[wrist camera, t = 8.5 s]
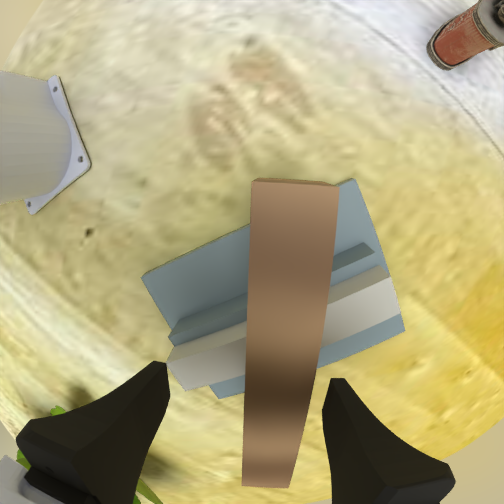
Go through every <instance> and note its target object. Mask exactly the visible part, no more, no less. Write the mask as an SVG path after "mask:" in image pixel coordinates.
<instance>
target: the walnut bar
mask: <svg viewBox="0 0 504 504" xmlns="http://www.w3.org/2000/svg"><path fill="white" fill-rule="evenodd" d="M339 189H340V187H337V186H334V185H331V184H328V183H325V182H320V181H306V180H291V179H273V178H257V179H256V180H254V181H252V190H251V218H250V246H249V274H248V304H247V333H246V364H245V395H244V426H243V459H242V486H250V487H266V488H289V485H290V481H291V477H292V474H293V470H294V466H295V463H296V459H297V455H298V451H299V447H300V443H301V439H302V435H303V431H304V426H305V422H306V418H307V413H308V409H309V404H310V399H311V395H312V390H313V385H314V380H315V375H316V369H317V364H318V359H319V353H320V347H321V341H322V335H323V329H324V323H325V316H326V310H327V303H328V296H329V288H330V281H331V273H332V264H333V256H334V247H335V237H336V226H337V215H338V203H339Z"/></svg>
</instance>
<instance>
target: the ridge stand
mask: <svg viewBox="0 0 504 504" xmlns="http://www.w3.org/2000/svg"><path fill="white" fill-rule="evenodd" d="M335 186H337V187H340V189H339V203H338V215H337V226H336V237H335V247H334V256H333V264H332V273H331V281H330V288H329V296H328V303H327V310H326V316H325V323H324V329H323V335H322V341H321V347H320V353H319V359H318V364H317V368H320V367H323V366H325V365H328V364H331V363H333V362H336V361H338V360H341V359H343V358H346V357H348V356H351V355H353V354H355V353H358V352H360V351H363V350H365V349H367V348H369V347H372V346H374V345H376V344H379V343H381V342H383V341H385V340H387V339H389V338H392V337H394V336H396V335H398V334H400V333H402V332H404V331H405V328H404V324H403V320H402V316H401V311H400V307H399V303H398V300H397V296H396V293H395V289H394V286H393V282H392V279H391V276H390V274H389V270H388V267H387V264H386V261H385V258H384V255H383V252H382V249H381V246H380V243H379V240H378V237H377V234H376V231H375V229H374V226H373V223H372V220H371V218H370V215H369V212H368V210H367V207H366V204H365V202H364V199H363V197H362V194H361V192H360V189H359V187H358V184H357V182H356V179H353V178H351V179H349V180H346V181H344V182H342V183H339V184H337V185H335ZM249 246H250V224H248V225H246V226H243V227H241V228H239V229H237V230H235V231H233V232H230V233H228V234H226V235H224V236H222V237H220V238H218V239H215V240H213V241H211V242H209V243H207V244H205V245H203V246H201V247H198V248H196V249H194V250H192V251H190V252H188V253H186V254H184V255H182V256H180V257H178V258H175V259H173V260H171V261H169V262H167V263H165V264H163V265H161V266H159V267H157V268H155V269H153V270H151V271H149V272H147V273H145V274H144V275H143V276H142V277H141V279H142V281H143V283H144V284H145V286H146V288H147V290H148V291H149V293H150V295H151V296H152V298H153V300H154V302H155V303H156V305H157V307H158V308H159V310H160V312H161V313H162V315H163V317H164V318H165V320H166V322H167V323H168V325H169V326H170V328H171V330H172V332H171V333H170V335H169V336H168V338H169V339H170V341H171V342H172V344H173V345H174V348H173V350H172V352H171V354H170V355H169V357H168V359H167V361H166V365H167V367H168V368H169V370H170V371H171V373H172V374H173V375H174V377H175V378H176V379H177V381H178V382H179V384H180V385H181V386H182V388H183V389H184V390H185V391H188V390H192V389H196V388H199V387H203V386H207V385H209V386H210V388H211V389H212V391H213V392H214V393H215V395H216V396H217V397H218V399H222V398H226V397H229V396H233V395H237V394H240V393H244V392H245V364H246V333H247V304H248V274H249Z"/></svg>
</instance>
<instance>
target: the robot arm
mask: <svg viewBox="0 0 504 504" xmlns="http://www.w3.org/2000/svg"><path fill="white" fill-rule="evenodd" d="M56 89H57V91H56ZM81 157H83V161H82V162H81ZM89 168H90V160H89V158H88V156H87V153H86V151H85V148H84V146H83V143H82V141H81V138H80V136H79V133H78V130H77V128H76V125H75V122H74V120H73V117H72V114H71V112H70V109H69V106H68V103H67V100H66V97H65V94H64V91H63V88H62V85H61V82H60V79H59V77H58V76H56V75H53V76H52V77H51V78H50V79H49V80H47V81H44V80H40V79H36V78H32V77H28V76H24V75H20V74H16V73H11V72H6V71H0V205H2V204H6V203H10V202H15V201H19V200H23V199H24V201H25V204H26V207H27V209H28V212H29V213H30V214H31V215H34V214H36V213H37V212H38V211H39V210H40V209H41V208H43V207H44V206H45V205H46V204H47V203H48V202H49V201H51V200H52V199H53V198H54V197H55V196H56V195H58V194H59V193H60V192H61V191H62V190H64V189H65V188H66V187H67V186H68V185H70V184H71V183H72V182H73V181H75V180H76V179H77V178H79V177H80V176H81V175H82V174H84V173H85V172H86V171H88V170H89ZM30 202H31V205H30ZM169 399H170V389H169V381H168V373H167V365H166V363H163V362H158V361H153V362H151V363H150V364H149V365H147V366H146V367H145V368H144V369H142V370H141V371H140V372H138V373H137V374H136V375H135V376H133V377H132V378H131V379H129V380H128V381H126V382H125V383H124V384H122V385H121V386H119V387H118V388H116V389H115V390H113V391H112V392H110V393H109V394H107V395H105V396H103V397H102V398H100V399H98V400H96V401H94V402H92V403H90V404H87V405H85V406H82V407H80V408H77V409H75V410H72V411H69V412H66V413H62V414H59V415H55V416H50V417H45V418H38V419H31V420H30V421H29V422H28V423H27V424H26V425H25V427H24V428H23V429H22V430H21V432H20V433H19V434H18V435H17V437H16V443H17V446H18V447H19V449H20V451H21V452H22V454H23V455H24V457H25V458H26V459H27V461H28V462H29V463H30V465H31V467H30V469H29V470H27V469H26V468H25V467H24V466H22V465H21V464H19V463H18V462H16V461H15V460H13V459H12V458H10V457H8V456H7V455H5V456H4V457H3V458H2V460H1V461H0V504H133V500H134V496H135V492H136V487H137V484H138V480H139V477H140V473H141V470H142V466H143V463H144V460H145V457H146V454H147V452H148V449H149V447H150V445H151V443H152V441H153V439H154V437H155V434H156V432H157V430H158V428H159V426H160V424H161V422H162V419H163V417H164V415H165V412H166V409H167V406H168V402H169ZM322 421H323V432H324V437H325V443H326V448H327V454H328V459H329V464H330V471H331V483H332V504H440V503H439V502H440V501H441V500H442V499H443V498H444V497H445V496H446V495H447V494H448V493H449V492H450V491H451V490H452V488H453V487H454V485H455V478H454V476H453V473H452V471H451V469H450V467H449V465H448V464H447V463H444V462H442V461H439V460H437V459H435V458H432V457H430V456H428V455H426V454H424V453H422V452H420V451H419V450H417V449H415V448H414V447H412V446H410V445H409V444H407V443H406V442H404V441H403V440H402V439H400V438H399V437H397V436H396V435H395V434H394V433H393V432H391V431H390V430H389V429H388V428H387V427H386V426H384V425H383V424H382V423H381V422H380V421H379V420H378V419H377V418H376V417H375V416H374V414H373V413H372V412H371V411H370V410H369V409H368V408H367V406H366V405H365V404H364V403H363V402H362V400H361V399H360V398H359V397H358V395H357V394H356V393H355V391H354V390H353V389H352V388H351V386H350V385H349V384H348V382H347V381H346V380H345V378H331V380H330V383H329V387H328V391H327V395H326V398H325V402H324V405H323V409H322Z"/></svg>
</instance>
